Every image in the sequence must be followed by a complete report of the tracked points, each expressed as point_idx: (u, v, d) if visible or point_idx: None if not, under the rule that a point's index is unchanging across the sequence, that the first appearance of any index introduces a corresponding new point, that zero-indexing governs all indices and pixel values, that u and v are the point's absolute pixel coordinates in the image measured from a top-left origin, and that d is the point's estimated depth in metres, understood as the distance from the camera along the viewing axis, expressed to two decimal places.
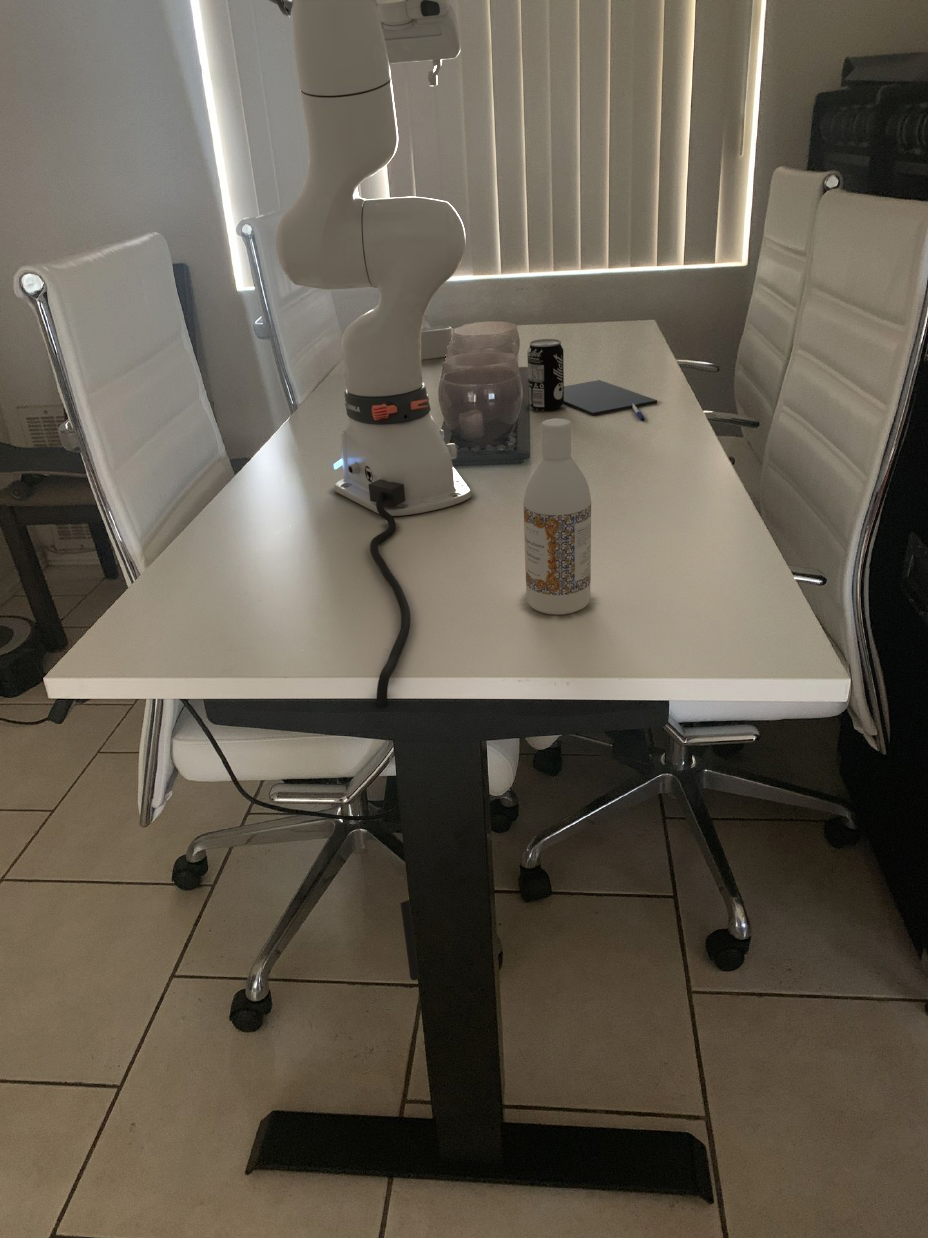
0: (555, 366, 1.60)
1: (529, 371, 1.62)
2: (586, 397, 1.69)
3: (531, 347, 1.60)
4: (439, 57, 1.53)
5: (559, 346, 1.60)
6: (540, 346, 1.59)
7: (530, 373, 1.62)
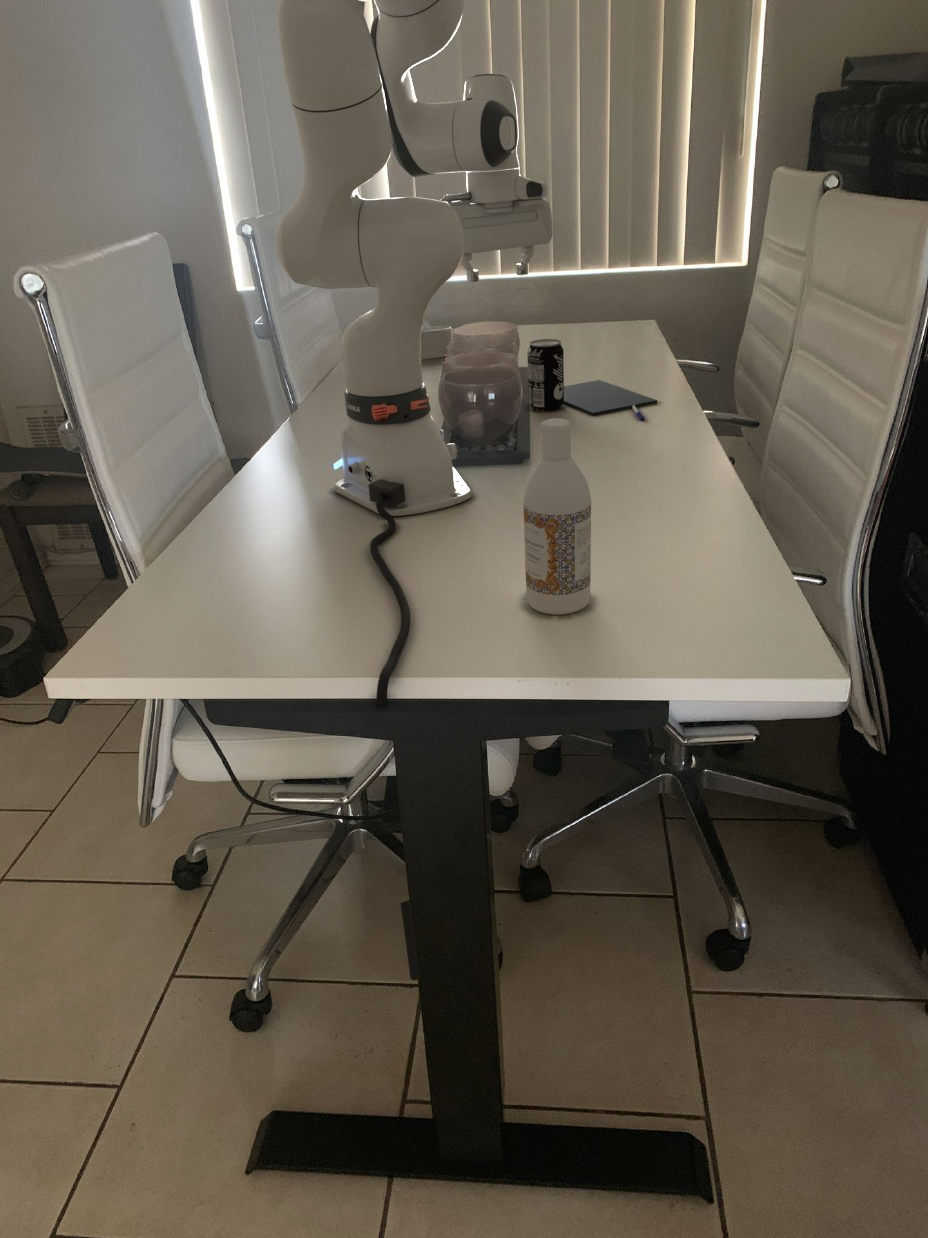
0: (555, 366, 1.60)
1: (529, 371, 1.62)
2: (586, 397, 1.69)
3: (531, 347, 1.60)
4: (534, 242, 1.51)
5: (559, 346, 1.60)
6: (540, 346, 1.59)
7: (530, 373, 1.62)
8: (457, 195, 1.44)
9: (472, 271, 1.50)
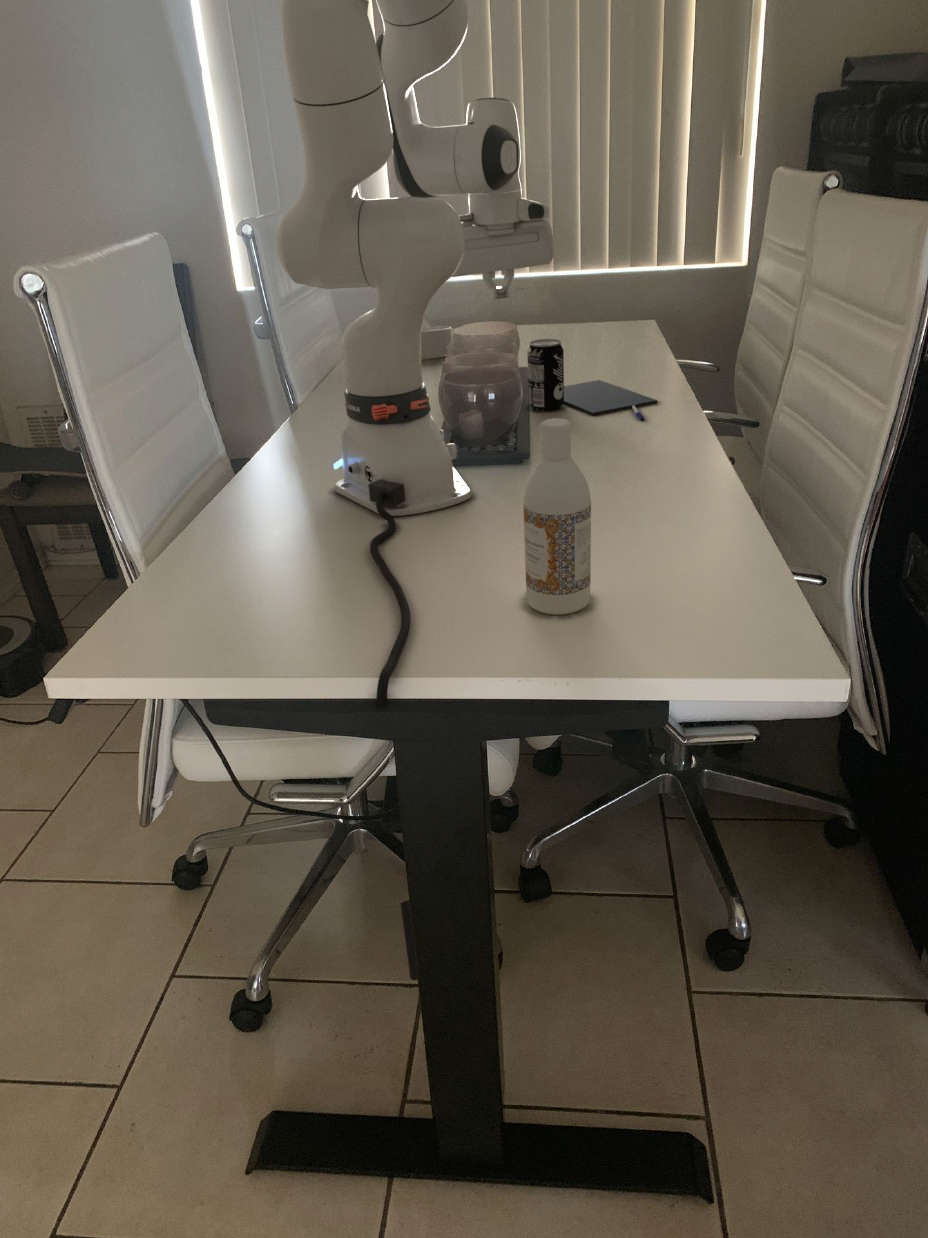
0: (555, 366, 1.60)
1: (529, 371, 1.62)
2: (586, 397, 1.69)
3: (531, 347, 1.60)
4: (535, 262, 1.52)
5: (559, 346, 1.60)
6: (540, 346, 1.59)
7: (530, 373, 1.62)
8: (459, 217, 1.45)
9: (495, 289, 1.52)
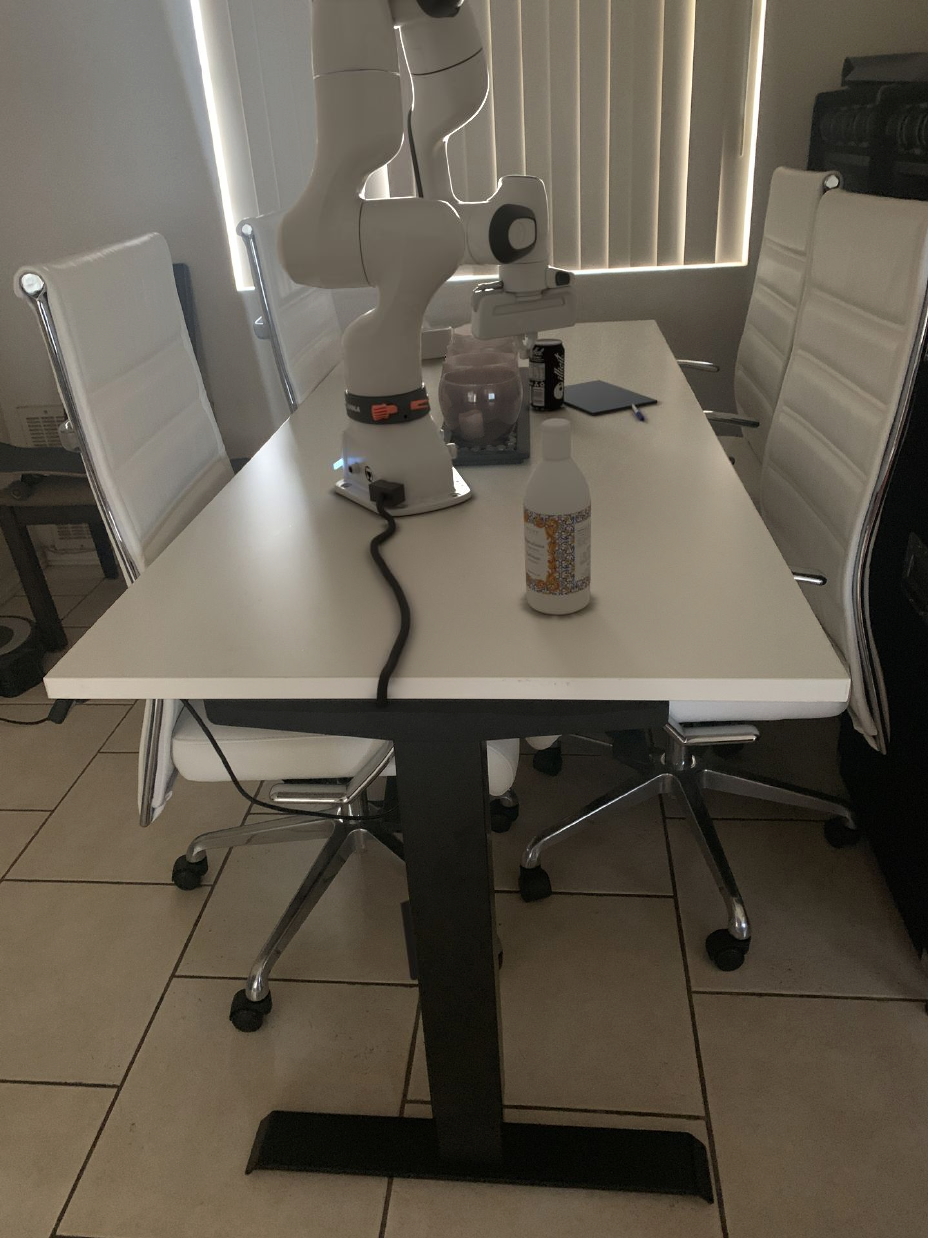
0: (556, 365, 1.60)
1: (530, 369, 1.62)
2: (586, 397, 1.69)
3: None
4: (561, 325, 1.59)
5: (560, 345, 1.60)
6: (541, 344, 1.59)
7: (531, 371, 1.62)
8: (490, 284, 1.52)
9: (525, 350, 1.59)
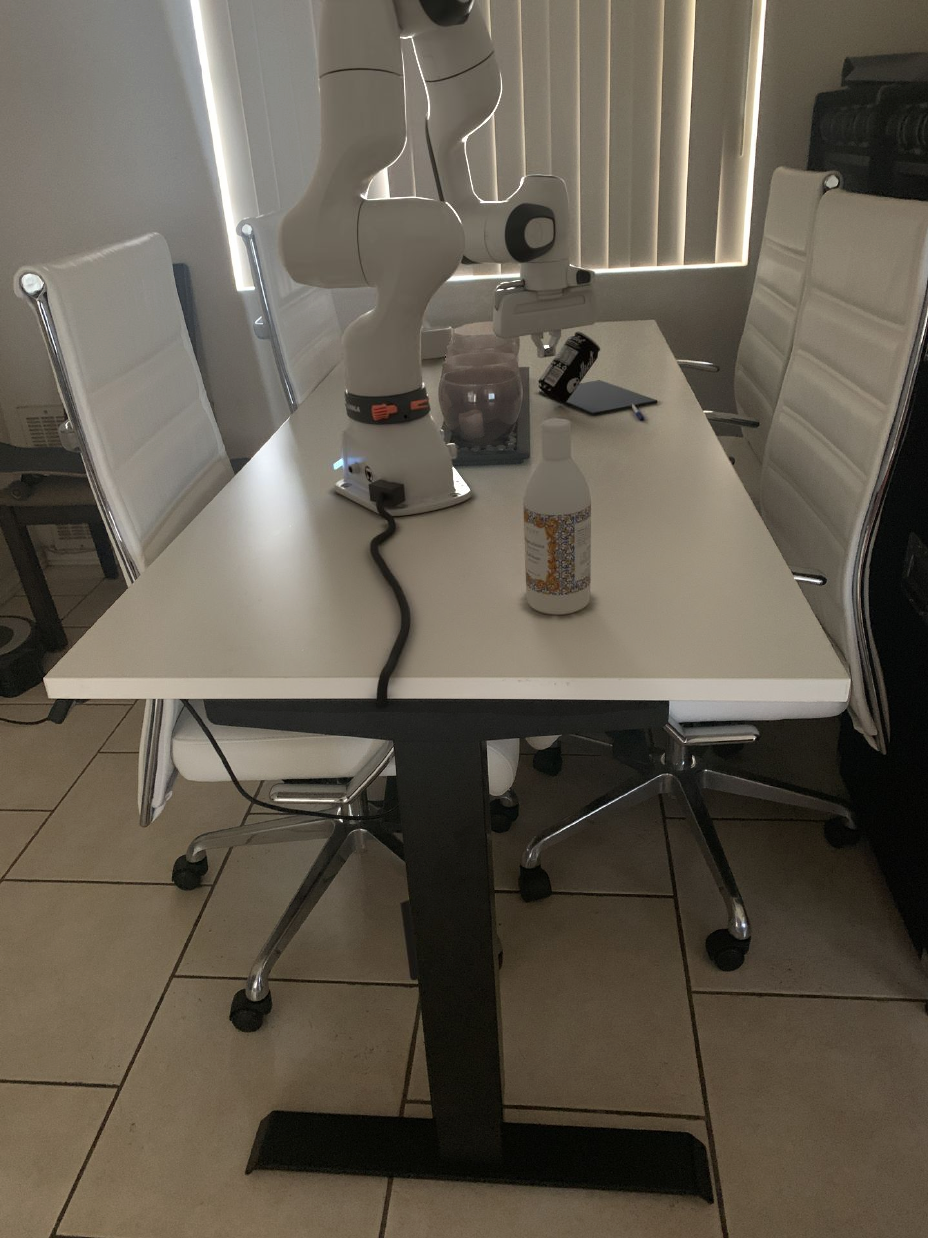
0: (585, 361, 1.63)
1: (560, 351, 1.64)
2: (586, 397, 1.69)
3: (576, 334, 1.63)
4: (581, 323, 1.61)
5: (597, 350, 1.64)
6: (585, 336, 1.62)
7: (560, 353, 1.63)
8: (512, 283, 1.53)
9: (543, 348, 1.61)
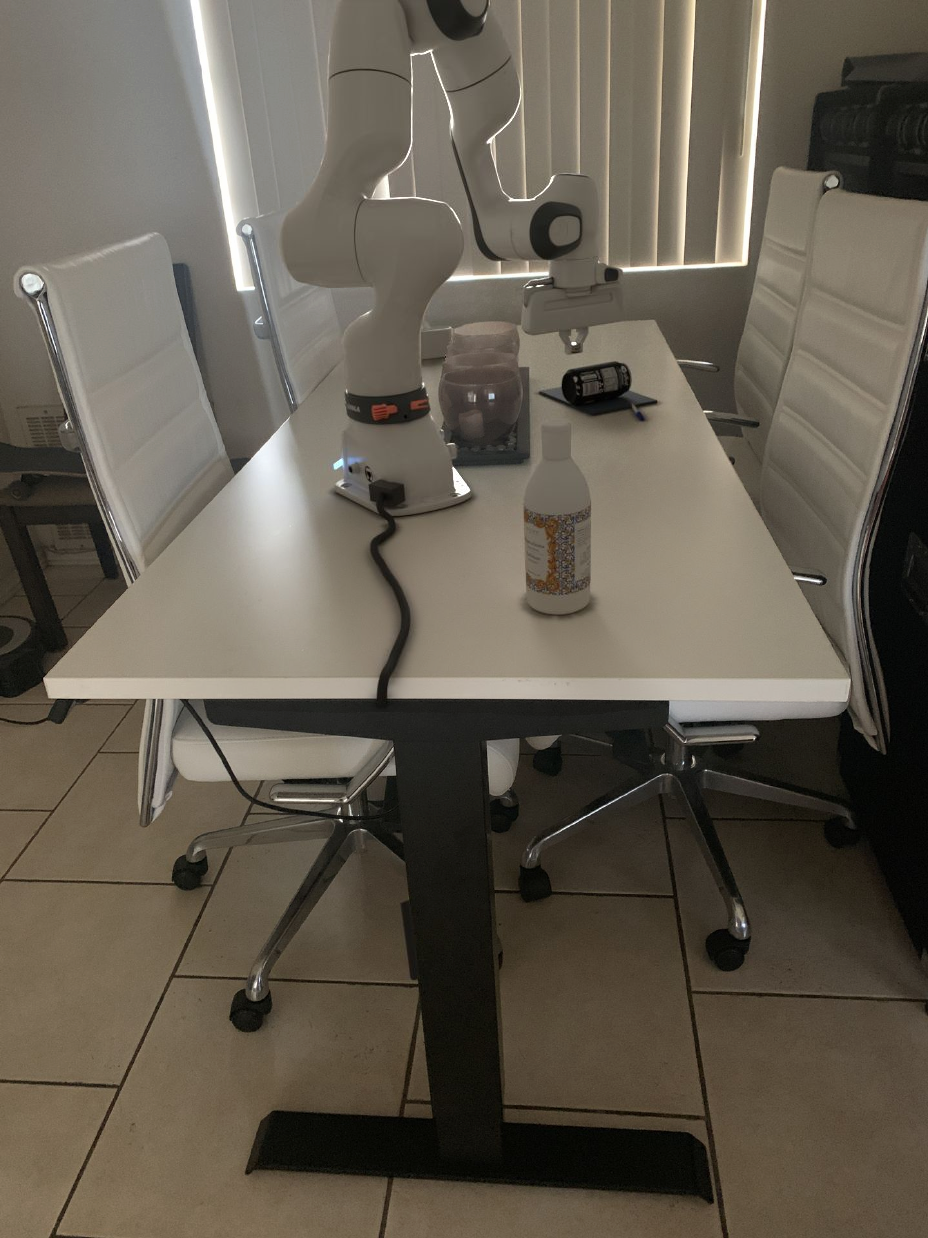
0: (610, 397, 1.66)
1: (609, 373, 1.63)
2: None
3: (627, 371, 1.65)
4: (608, 321, 1.63)
5: None
6: (630, 382, 1.66)
7: (608, 374, 1.63)
8: (541, 280, 1.55)
9: (570, 345, 1.62)
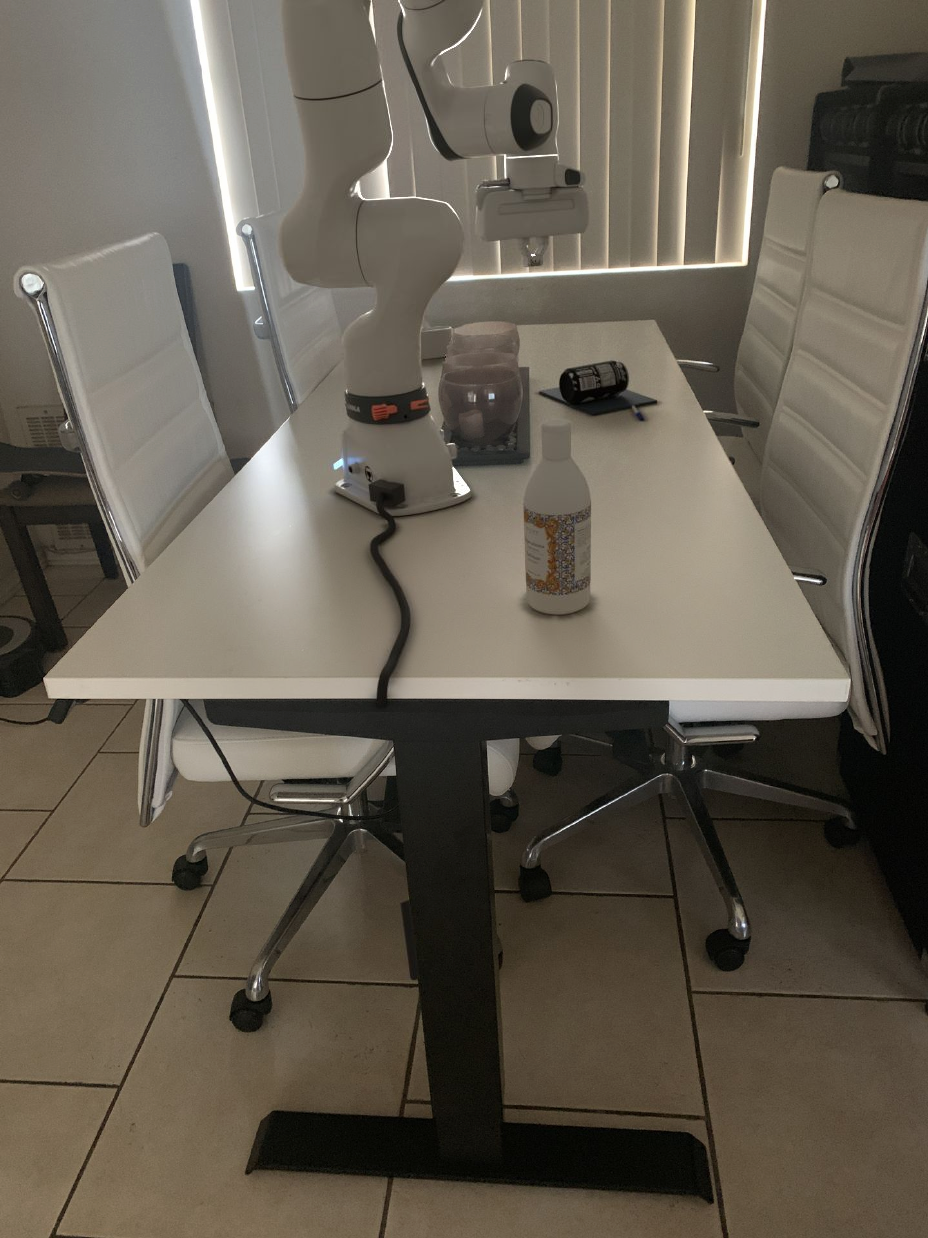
0: (609, 394, 1.66)
1: (604, 368, 1.64)
2: None
3: (623, 366, 1.66)
4: (570, 230, 1.51)
5: None
6: (628, 377, 1.66)
7: (604, 370, 1.64)
8: (496, 180, 1.44)
9: (529, 256, 1.51)
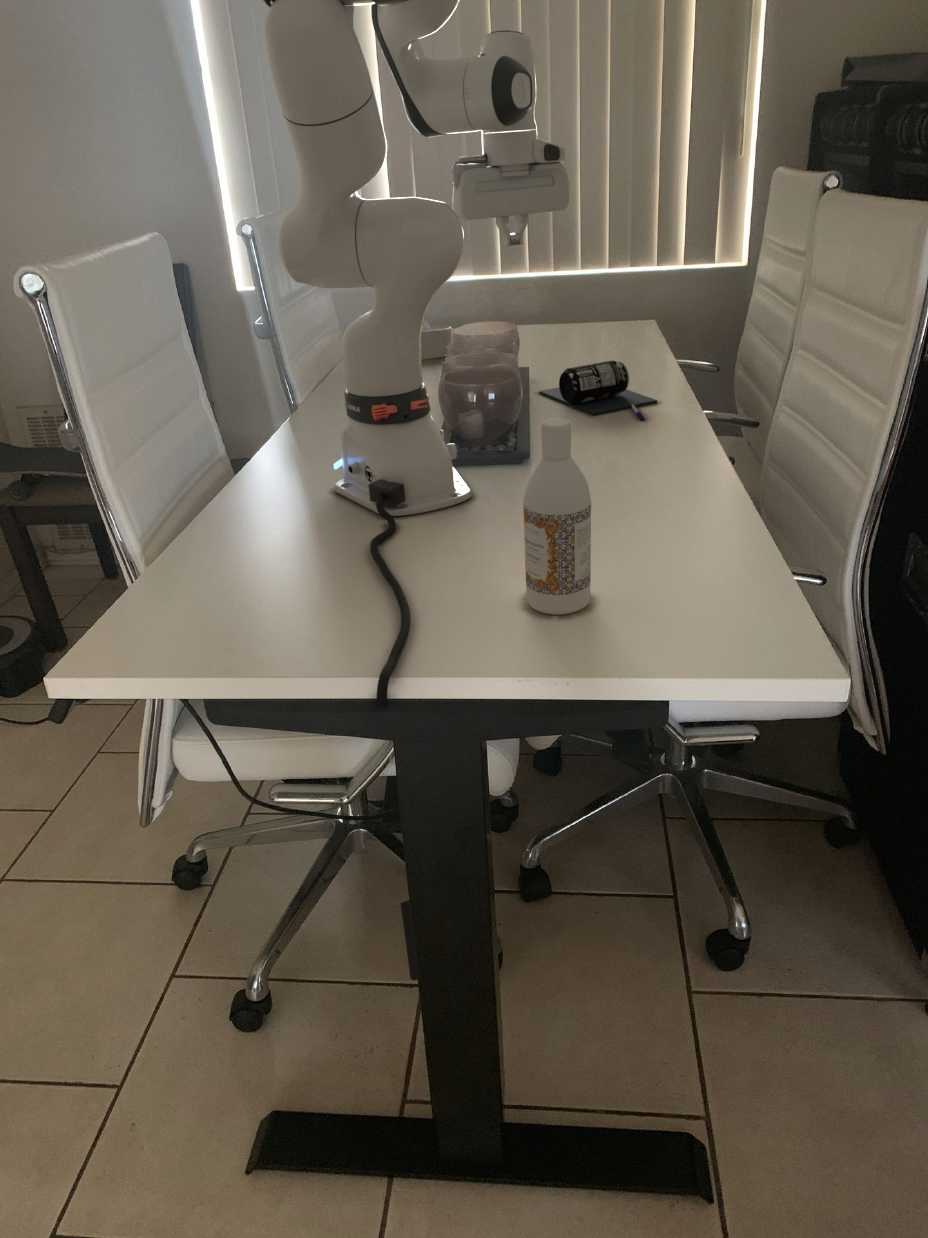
0: (609, 394, 1.66)
1: (604, 368, 1.64)
2: None
3: (623, 366, 1.66)
4: (550, 208, 1.47)
5: None
6: (628, 377, 1.66)
7: (604, 369, 1.64)
8: (473, 157, 1.40)
9: (509, 235, 1.47)
